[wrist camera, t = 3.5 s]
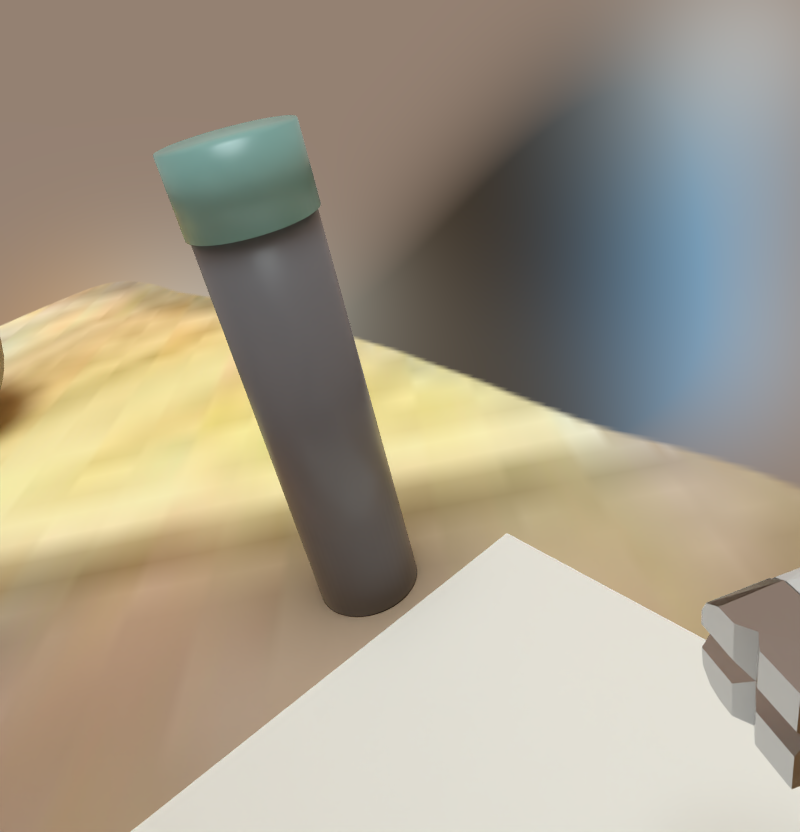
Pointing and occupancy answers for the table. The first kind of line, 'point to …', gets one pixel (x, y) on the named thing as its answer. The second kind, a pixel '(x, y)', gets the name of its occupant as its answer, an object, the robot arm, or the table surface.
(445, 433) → the table surface
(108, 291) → the table surface
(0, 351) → the fruit
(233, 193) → the marker
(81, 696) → the table surface
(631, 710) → the paper
